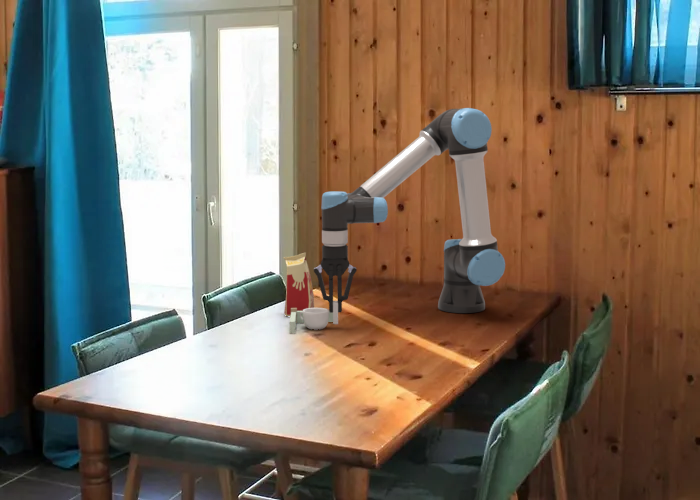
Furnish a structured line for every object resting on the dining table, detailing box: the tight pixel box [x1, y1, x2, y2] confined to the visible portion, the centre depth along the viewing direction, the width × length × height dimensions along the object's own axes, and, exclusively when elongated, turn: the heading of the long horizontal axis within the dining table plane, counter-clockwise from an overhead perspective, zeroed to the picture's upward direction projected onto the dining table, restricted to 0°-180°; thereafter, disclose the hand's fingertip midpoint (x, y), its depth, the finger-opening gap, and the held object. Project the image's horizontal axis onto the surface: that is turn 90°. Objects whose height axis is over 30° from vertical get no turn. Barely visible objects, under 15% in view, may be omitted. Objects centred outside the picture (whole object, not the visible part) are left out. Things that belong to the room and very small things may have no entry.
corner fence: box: [289, 308, 333, 334], centre depth 266 cm, size 14×15×4 cm
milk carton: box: [282, 252, 315, 317], centre depth 283 cm, size 9×9×20 cm
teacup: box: [300, 307, 329, 331], centre depth 266 cm, size 10×8×5 cm
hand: (335, 323), depth 266 cm, fingers closed
